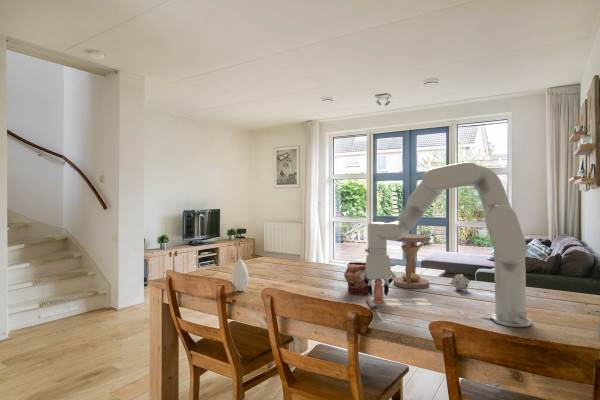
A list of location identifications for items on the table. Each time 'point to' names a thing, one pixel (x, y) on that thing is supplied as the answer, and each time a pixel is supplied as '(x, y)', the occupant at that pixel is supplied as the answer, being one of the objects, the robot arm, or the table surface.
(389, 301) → the board
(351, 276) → the decorative planter
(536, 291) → the table surface
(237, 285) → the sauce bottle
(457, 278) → the game die
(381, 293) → the pawn
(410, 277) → the wooden pedestal stand
